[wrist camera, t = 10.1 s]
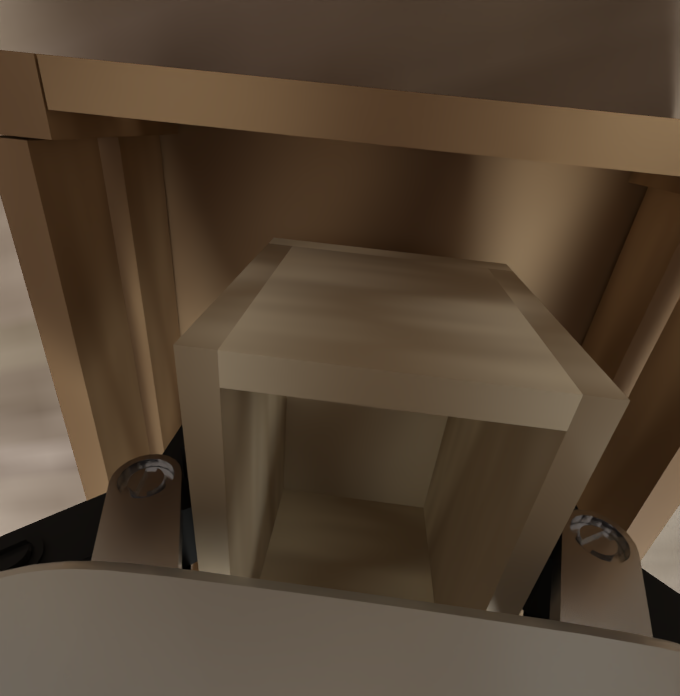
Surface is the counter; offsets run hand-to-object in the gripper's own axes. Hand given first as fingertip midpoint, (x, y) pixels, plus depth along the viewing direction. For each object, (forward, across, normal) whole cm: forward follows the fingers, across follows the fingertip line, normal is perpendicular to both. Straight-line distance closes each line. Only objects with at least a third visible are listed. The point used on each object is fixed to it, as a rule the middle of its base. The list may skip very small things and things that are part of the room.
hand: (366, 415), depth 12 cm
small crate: (+1, 0, 0) cm, 1 cm away
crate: (+4, 0, 0) cm, 4 cm away
